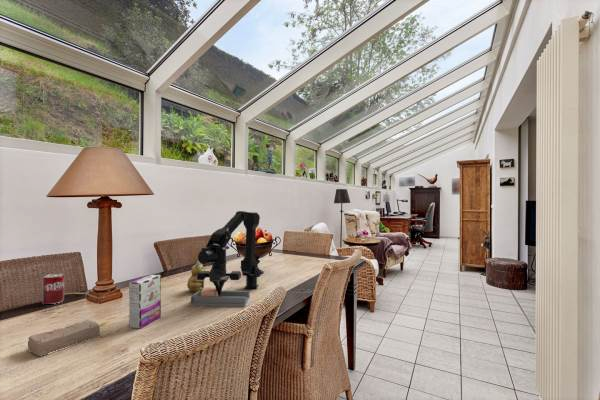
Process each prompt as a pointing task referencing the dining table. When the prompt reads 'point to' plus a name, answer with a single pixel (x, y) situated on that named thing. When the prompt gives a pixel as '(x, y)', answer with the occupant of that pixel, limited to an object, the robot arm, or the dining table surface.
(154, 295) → the candy bar box
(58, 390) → the dining table surface
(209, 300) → the grey tray
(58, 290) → the soda can
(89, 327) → the brick
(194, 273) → the decorative figurine
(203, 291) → the block
